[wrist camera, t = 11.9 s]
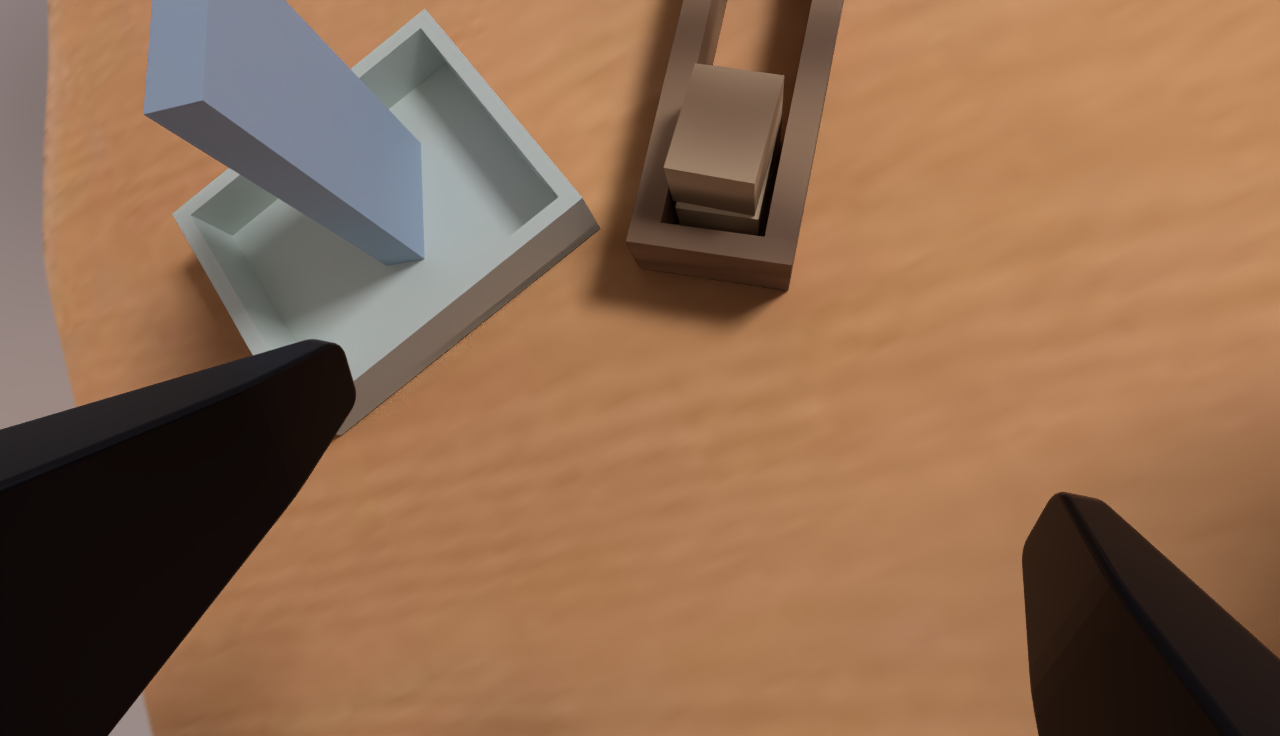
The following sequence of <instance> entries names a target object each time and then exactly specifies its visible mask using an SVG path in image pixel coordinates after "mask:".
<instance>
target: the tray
mask: <svg viewBox="0 0 1280 736" xmlns="http://www.w3.org/2000/svg"><path fill="white" fill-rule="evenodd" d="M351 70H352V71H353V72H354V74H355V75H356V76H357V77H358V78H359V79H360V80H361V81H362V82H363V83H364V84H365V85H366V86H367V87H368V88H369V89H370V90H371V91H372V92H373V94H374V95H375V96H376V97H377V98H378V99H379V100H380V101H381V102H382V103H383V104H384V105H385V106H386V107H387V108H388V109H389V110H390V111H391V112H392V114H393V115H394V116H395V117H396V118H397V119H398V120H399V121H400V122H401V123H402V124H403V125H404V126H405V127H406V128H407V129H408V130H409V131H410V132H411V134H412V135H413V136H414V137H415V138H416V139H417V140H418V141H419V142H420V143H421V161H422V193H423V224H424V255H425V259H422V260H416V261H411V262H405V263H400V264H394V265H389V266H386V265H384V264H383V263H381V262H380V261H378V260H376V259H375V258H373V257H372V256H370V255H368V254H367V253H365V252H364V251H362V250H360V249H359V248H357V247H356V246H354V245H352V244H351V243H349V242H348V241H346V240H344V239H343V238H341V237H340V236H338V235H336V234H335V233H333V232H331V231H330V230H328V229H327V228H325V227H323V226H322V225H320V224H319V223H317V222H315V221H314V220H312V219H311V218H309V217H307V216H306V215H304V214H303V213H301V212H299V211H298V210H296V209H295V208H293V207H291V206H290V205H288V204H287V203H285V202H283V201H282V200H280V199H279V198H277V197H275V196H274V195H272V194H270V193H269V192H267V191H266V190H264V189H262V188H261V187H259V186H258V185H256V184H254V183H253V182H251V181H250V180H248V179H246V178H245V177H243V176H242V175H240V174H238V173H237V172H235V171H234V170H232V169H230V168H228V169H227V170H226V171H224V172H223V173H222V174H221V175H220V176H218V177H217V178H216V179H215V180H213V181H212V182H211V183H210V184H208V185H207V186H206V187H205V188H204V189H202V190H201V191H200V192H199V193H197V194H196V195H195V196H194V197H192V198H191V199H190V200H189V201H188V202H186V203H185V204H184V205H183V206H181V207H180V208H179V209H178V210H176V211H175V212H174V213H173V216H174V218H175V220H176V221H177V223H178V225H179V227H180V228H181V230H182V232H183V234H184V235H185V237H186V239H187V241H188V242H189V244H190V246H191V248H192V249H193V251H194V253H195V255H196V257H197V258H198V260H199V262H200V264H201V265H202V267H203V269H204V271H205V272H206V274H207V276H208V278H209V279H210V281H211V283H212V285H213V286H214V288H215V290H216V292H217V293H218V295H219V297H220V299H221V300H222V302H223V304H224V306H225V307H226V309H227V311H228V313H229V314H230V316H231V318H232V320H233V321H234V323H235V325H236V327H237V328H238V330H239V332H240V334H241V335H242V337H243V339H244V341H245V343H246V344H247V346H248V348H249V350H250V351H251V353H252V355H256V354H259V353H263V352H266V351H270V350H273V349H276V348H280V347H283V346H286V345H290V344H293V343H297V342H300V341H303V340H307V339H318V340H323V341H328V342H333V343H336V344H338V345H340V346H341V347H342V349H343V350H344V352H345V354H346V357H347V361H348V364H349V368H350V371H351V375H352V378H353V381H354V385H355V388H356V401H355V404H354V407H353V409H352V410H351V412H350V413H349V415H348V417H347V418H346V420H345V421H344V423H343V424H342V426H341V427H340V429H339V431H338V432H337V434H336V435H342V434H344V433H345V432H346V431H347V430H349V429H350V428H351V427H352V426H354V425H355V424H356V423H357V422H359V421H360V420H361V419H362V418H364V417H365V416H366V415H367V414H369V413H370V412H371V411H372V410H374V409H375V408H376V407H377V406H379V405H380V404H381V403H382V402H384V401H385V400H386V399H387V398H389V397H390V396H391V395H392V394H394V393H395V392H396V391H397V390H399V389H400V388H401V387H402V386H404V385H405V384H406V383H407V382H409V381H410V380H411V379H412V378H414V377H415V376H416V375H418V374H419V373H420V372H421V371H423V370H424V369H425V368H426V367H428V366H429V365H430V364H431V363H433V362H434V361H435V360H436V359H438V358H439V357H440V356H441V355H443V354H444V353H445V352H446V351H448V350H449V349H450V348H451V347H453V346H454V345H455V344H456V343H458V342H459V341H460V340H461V339H463V338H464V337H465V336H466V335H468V334H469V333H470V332H471V331H473V330H474V329H475V328H476V327H478V326H479V325H480V324H481V323H483V322H484V321H485V320H486V319H488V318H489V317H490V316H491V315H493V314H494V313H495V312H496V311H498V310H499V309H500V308H501V307H503V306H504V305H505V304H506V303H508V302H509V301H510V300H511V299H513V298H514V297H515V296H516V295H518V294H519V293H520V292H521V291H523V290H524V289H525V288H526V287H528V286H529V285H530V284H531V283H533V282H534V281H535V280H536V279H538V278H539V277H540V276H541V275H543V274H544V273H545V272H546V271H548V270H549V269H550V268H551V267H553V266H554V265H555V264H556V263H558V262H559V261H560V260H561V259H563V258H564V257H565V256H566V255H568V254H569V253H570V252H571V251H573V250H574V249H575V248H576V247H578V246H579V245H580V244H581V243H583V242H584V241H585V240H587V239H588V238H589V237H590V236H592V235H593V234H594V233H595V232H597V231H598V230H599V229H600V227H599V226H598V224H597V222H596V220H595V219H594V217H593V215H592V214H591V212H590V210H589V208H588V207H587V205H586V203H585V201H584V200H583V198H582V197H581V196H580V194H579V193H578V192H577V191H576V190H575V188H574V187H573V186H572V185H571V184H570V182H569V181H568V180H567V179H566V178H565V176H564V175H563V174H562V173H561V172H560V170H559V169H558V168H557V167H556V166H555V164H554V163H553V162H552V161H551V160H550V158H549V157H548V156H547V155H546V154H545V152H544V151H543V150H542V149H541V148H540V146H539V145H538V144H537V143H536V141H535V140H534V139H533V138H532V137H531V135H530V134H529V133H528V132H527V131H526V129H525V128H524V127H523V126H522V125H521V123H520V122H519V121H518V120H517V119H516V117H515V116H514V115H513V114H512V113H511V111H510V110H509V109H508V108H507V107H506V105H505V104H504V103H503V102H502V101H501V99H500V98H499V97H498V96H497V95H496V93H495V92H494V91H493V90H492V89H491V87H490V86H489V85H488V84H487V83H486V81H485V80H484V79H483V78H482V77H481V75H480V74H479V73H478V72H477V71H476V69H475V68H474V67H473V66H472V65H471V63H470V62H469V61H468V60H467V58H466V57H465V56H464V55H463V54H462V52H461V51H460V50H459V49H458V48H457V46H456V45H455V44H454V43H453V42H452V40H451V39H450V38H449V37H448V36H447V34H446V33H445V32H444V31H443V30H442V28H441V27H440V26H439V25H438V24H437V22H436V21H435V20H434V19H433V18H432V16H431V15H430V14H429V13H428V12H427V10H426V9H424V10H423V11H421V12H420V13H419V14H418V15H416V16H415V17H414V18H413V19H412V20H410V21H409V22H408V23H407V24H405V25H404V26H403V27H402V28H400V29H399V30H398V31H397V32H396V33H394V34H393V35H392V36H391V37H389V38H388V39H387V40H386V41H384V42H383V43H382V44H381V45H380V46H378V47H377V48H376V49H375V50H373V51H372V52H371V53H370V54H368V55H367V56H366V57H365V58H364V59H362V60H361V61H360V62H359V63H357V64H356V65H355V66H354V67H352V68H351Z"/></svg>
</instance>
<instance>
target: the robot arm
mask: <svg viewBox="0 0 1280 736" xmlns="http://www.w3.org/2000/svg"><path fill="white" fill-rule="evenodd" d="M355 401H356V388H355V385H354V381H353V378H352V375H351V371H350V368H349V364H348V361H347V357H346V354H345V352H344V350H343V349H342V347H341V346H340V345H338V344H336V343H333V342H328V341H323V340H318V339H307V340H303V341H300V342H297V343H293V344H290V345H286V346H283V347H280V348H276V349H273V350H270V351H266V352H263V353H259V354H256V355H253V356H249V357H246V358H242V359H239V360H236V361H232V362H229V363H225V364H222V365H219V366H215V367H212V368H208V369H205V370H202V371H198V372H195V373H191V374H188V375H185V376H181V377H178V378H174V379H171V380H168V381H164V382H161V383H157V384H154V385H151V386H147V387H144V388H140V389H137V390H134V391H130V392H127V393H123V394H120V395H117V396H113V397H110V398H106V399H103V400H100V401H96V402H93V403H89V404H86V405H83V406H79V407H76V408H72V409H69V410H66V411H63V412H59V413H56V414H52V415H49V416H46V417H42V418H39V419H35V420H32V421H28V422H25V423H22V424H19V425H15V426H11V427H8V428H5V429H1V430H0V736H108V735H109V734H110V732H111V731H112V730H113V728H114V727H115V726H116V725H117V723H118V722H119V721H120V720H121V718H122V717H123V716H124V715H125V713H126V712H127V711H128V709H129V708H130V707H131V706H132V704H133V703H134V702H135V700H136V699H137V698H138V696H139V695H140V694H141V693H142V692H143V690H144V689H145V688H146V687H147V685H148V684H149V683H150V681H151V680H152V679H153V678H154V676H155V675H156V674H157V673H158V671H159V670H160V669H161V667H162V666H163V665H164V664H165V662H166V661H167V660H168V659H169V657H170V656H171V655H172V654H173V652H174V651H175V650H176V648H177V647H178V646H179V645H180V643H181V642H182V641H183V640H184V638H185V637H186V636H187V634H188V633H189V632H190V631H191V629H192V628H193V627H194V626H195V624H196V623H197V622H198V620H199V619H200V618H201V617H202V615H203V614H204V613H205V612H206V610H207V609H208V608H209V606H210V605H211V604H212V603H213V601H214V600H215V599H216V598H217V596H218V595H219V594H220V593H221V591H222V590H223V589H224V587H225V586H226V585H227V584H228V582H229V581H230V580H231V579H232V577H233V576H234V575H235V573H236V572H237V571H238V570H239V568H240V567H241V566H242V565H243V563H244V562H245V561H246V559H247V558H248V557H249V556H250V554H251V553H252V552H253V551H254V549H255V548H256V547H257V545H258V544H259V543H260V542H261V540H262V539H263V538H264V537H265V535H266V534H267V533H268V532H269V530H270V529H271V528H272V526H273V525H274V524H275V523H276V521H277V520H278V519H279V518H280V516H281V515H282V514H283V512H284V511H285V510H286V509H287V507H288V506H289V505H290V503H291V502H292V501H293V499H294V498H295V497H296V495H297V494H298V492H299V491H300V489H301V488H302V486H303V485H304V483H305V482H306V480H307V479H308V477H309V476H310V474H311V473H312V471H313V470H314V468H315V466H316V465H317V463H318V462H319V460H320V459H321V457H322V456H323V454H324V452H325V451H326V449H327V448H328V446H329V445H330V443H331V442H332V440H333V438H334V437H335V435H336V434H337V432H338V431H339V429H340V427H341V426H342V424H343V423H344V421H345V420H346V418H347V417H348V415H349V413H350V412H351V410H352V409H353V407H354V404H355ZM1022 569H1023V584H1024V599H1025V614H1026V629H1027V644H1028V660H1029V673H1030V684H1031V694H1032V700H1033V706H1034V712H1035V718H1036V724H1037V729H1038V734H1039V736H1280V659H1279V658H1278V657H1277V656H1276V655H1274V654H1273V653H1272V652H1271V651H1270V650H1269V649H1268V648H1267V647H1266V646H1264V645H1263V644H1262V643H1261V642H1260V641H1259V640H1258V639H1257V638H1256V637H1254V636H1253V635H1252V634H1251V633H1250V632H1249V631H1248V630H1247V629H1246V628H1244V627H1243V626H1242V625H1241V624H1240V623H1239V622H1238V621H1237V620H1235V619H1234V618H1233V617H1232V616H1231V615H1230V614H1229V613H1228V612H1227V611H1225V610H1224V609H1223V608H1222V607H1221V606H1220V605H1219V604H1218V603H1217V602H1215V601H1214V600H1213V599H1212V598H1211V597H1210V596H1209V595H1208V594H1206V593H1205V592H1204V591H1203V590H1202V589H1201V588H1200V587H1199V586H1198V585H1196V584H1195V583H1194V582H1193V581H1192V580H1191V579H1190V578H1189V577H1188V576H1186V575H1185V574H1184V573H1183V572H1182V571H1181V570H1180V569H1179V568H1178V567H1176V566H1175V565H1174V564H1173V563H1172V562H1171V561H1170V560H1169V559H1167V558H1166V557H1165V556H1164V555H1163V554H1162V553H1161V552H1160V551H1159V550H1157V549H1156V548H1155V547H1154V546H1153V545H1152V544H1151V543H1150V542H1149V541H1147V540H1146V539H1145V538H1144V537H1143V536H1142V535H1141V534H1140V533H1138V532H1137V531H1136V530H1135V529H1134V528H1133V527H1132V526H1131V525H1130V524H1128V523H1127V522H1126V521H1125V520H1124V519H1123V518H1122V517H1121V516H1120V515H1118V514H1117V513H1116V512H1115V511H1114V510H1113V509H1112V508H1111V507H1109V506H1108V505H1107V504H1106V503H1105V502H1103V501H1101V500H1099V499H1096V498H1092V497H1087V496H1082V495H1077V494H1072V493H1067V492H1060V493H1056V494H1055V495H1053V496H1052V497H1051V499H1050V500H1049V501H1048V503H1047V505H1046V506H1045V508H1044V510H1043V512H1042V513H1041V515H1040V517H1039V519H1038V520H1037V522H1036V524H1035V525H1034V527H1033V529H1032V531H1031V532H1030V534H1029V536H1028V538H1027V540H1026V542H1025V545H1024V548H1023V554H1022Z"/></svg>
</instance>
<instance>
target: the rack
mask: <svg viewBox="0 0 1280 736" xmlns="http://www.w3.org/2000/svg"><path fill="white" fill-rule="evenodd" d="M843 2H844V0H812V3H811V8H810V13H809V18H808V23H807V28H806V33H805V38H804V43H803V48H802V53H801V58H800V63H799V68H798V73H797V78H796V83H795V88H794V93H793V98H792V103H791V108H790V113H789V118H788V123H787V128H786V133H785V138H784V143H783V148H782V153H781V158H780V163H779V168H778V172H777V177H776V182H775V187H774V192H773V197H772V202H771V207H770V212H769V217H768V222H767V227H766V232H765V237H762V236H755V235H748V234H740V233H733V232H726V231H718V230H711V229H703V228H696V227H689V226H681V225H677V221H678V216H677V212H676V208H675V207H676V203H677V201H673V199H672V196H671V192H670V189H669V185H668V182H667V178H666V175H665V171H664V165H665V161H666V158H667V155H668V151H669V148H670V145H671V141H672V138H673V135H674V131H675V128H676V125H677V121H678V118H679V115H680V111H681V108H682V105H683V101H684V98H685V95H686V91H687V88H688V85H689V81H690V78H691V75H692V71H693V68H694V65H695V63H697V64H704V65H713V61H714V57H715V52H716V48H717V43H718V39H719V34H720V30H721V25H722V21H723V17H724V12H725V8H726V3H727V0H683V3H682V8H681V12H680V16H679V20H678V24H677V29H676V33H675V37H674V41H673V45H672V50H671V54H670V58H669V62H668V66H667V71H666V75H665V79H664V83H663V87H662V92H661V96H660V100H659V104H658V108H657V113H656V117H655V121H654V125H653V129H652V134H651V138H650V142H649V146H648V150H647V155H646V159H645V163H644V167H643V171H642V176H641V180H640V184H639V188H638V192H637V197H636V201H635V205H634V209H633V213H632V218H631V222H630V226H629V230H628V234H627V239H626V242H627V244H628V246H629V248H630V250H631V252H632V254H633V256H634V258H635V260H636V262H637V264H638V266H639V268H643V269H649V270H656V271H662V272H669V273H675V274H682V275H688V276H695V277H701V278H708V279H714V280H721V281H728V282H734V283H741V284H747V285H754V286H760V287H767V288H773V289H780V290H786V291H788V289H789V284H790V278H791V273H792V268H793V263H794V258H795V252H796V247H797V242H798V237H799V231H800V226H801V221H802V216H803V211H804V205H805V200H806V195H807V190H808V184H809V179H810V174H811V169H812V164H813V158H814V153H815V148H816V143H817V137H818V132H819V127H820V122H821V117H822V111H823V106H824V101H825V96H826V90H827V85H828V80H829V75H830V70H831V64H832V59H833V54H834V49H835V43H836V38H837V33H838V28H839V23H840V17H841V12H842V7H843Z"/></svg>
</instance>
